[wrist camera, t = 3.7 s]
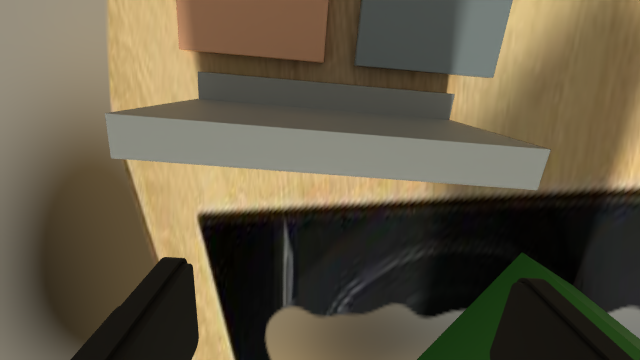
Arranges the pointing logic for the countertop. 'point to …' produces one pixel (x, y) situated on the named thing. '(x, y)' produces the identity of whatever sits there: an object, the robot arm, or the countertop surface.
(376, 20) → the mat bluegrey
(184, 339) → the robot arm
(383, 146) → the upright grey panel
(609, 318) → the hardback book
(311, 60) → the tile terracotta
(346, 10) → the countertop surface
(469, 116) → the countertop surface
